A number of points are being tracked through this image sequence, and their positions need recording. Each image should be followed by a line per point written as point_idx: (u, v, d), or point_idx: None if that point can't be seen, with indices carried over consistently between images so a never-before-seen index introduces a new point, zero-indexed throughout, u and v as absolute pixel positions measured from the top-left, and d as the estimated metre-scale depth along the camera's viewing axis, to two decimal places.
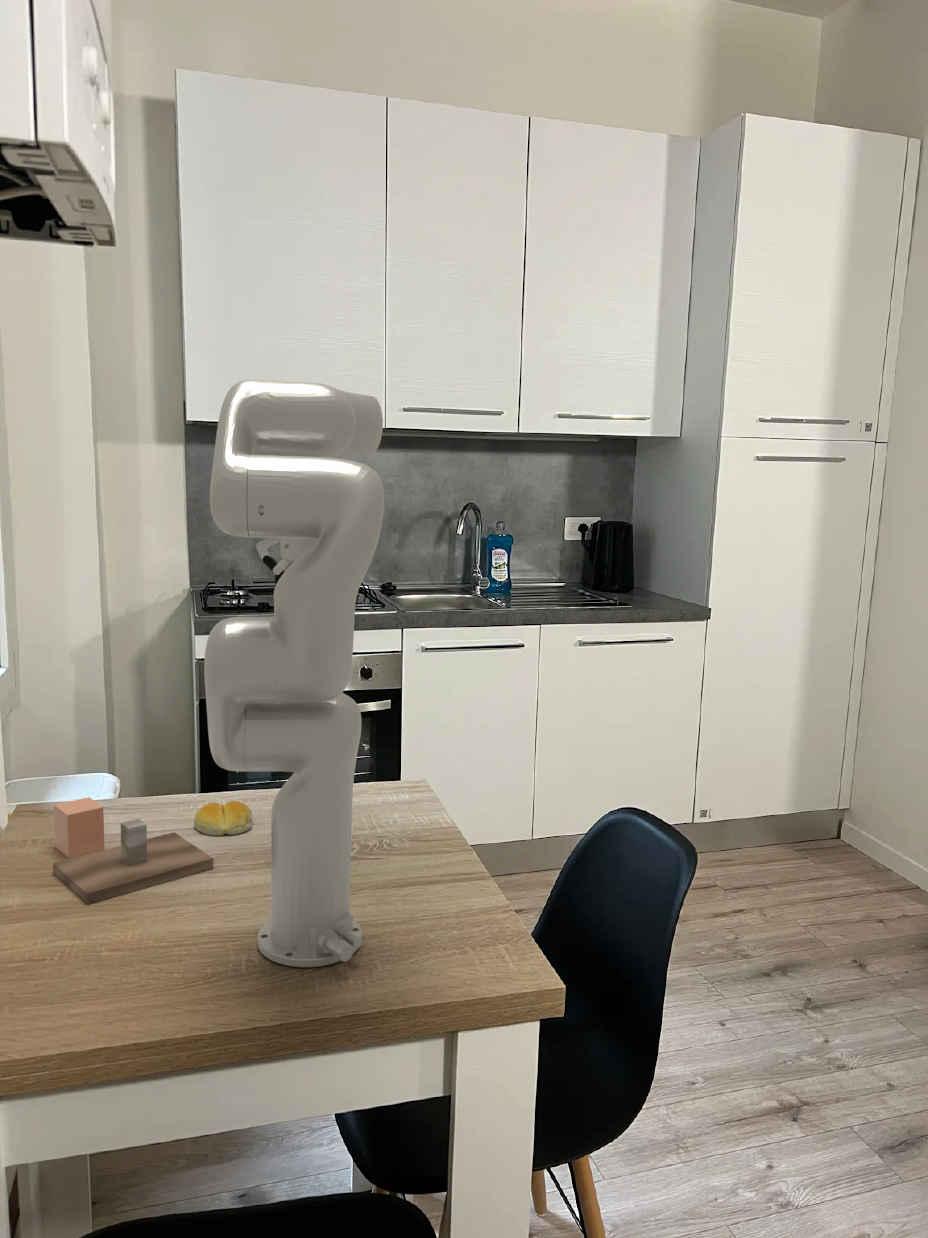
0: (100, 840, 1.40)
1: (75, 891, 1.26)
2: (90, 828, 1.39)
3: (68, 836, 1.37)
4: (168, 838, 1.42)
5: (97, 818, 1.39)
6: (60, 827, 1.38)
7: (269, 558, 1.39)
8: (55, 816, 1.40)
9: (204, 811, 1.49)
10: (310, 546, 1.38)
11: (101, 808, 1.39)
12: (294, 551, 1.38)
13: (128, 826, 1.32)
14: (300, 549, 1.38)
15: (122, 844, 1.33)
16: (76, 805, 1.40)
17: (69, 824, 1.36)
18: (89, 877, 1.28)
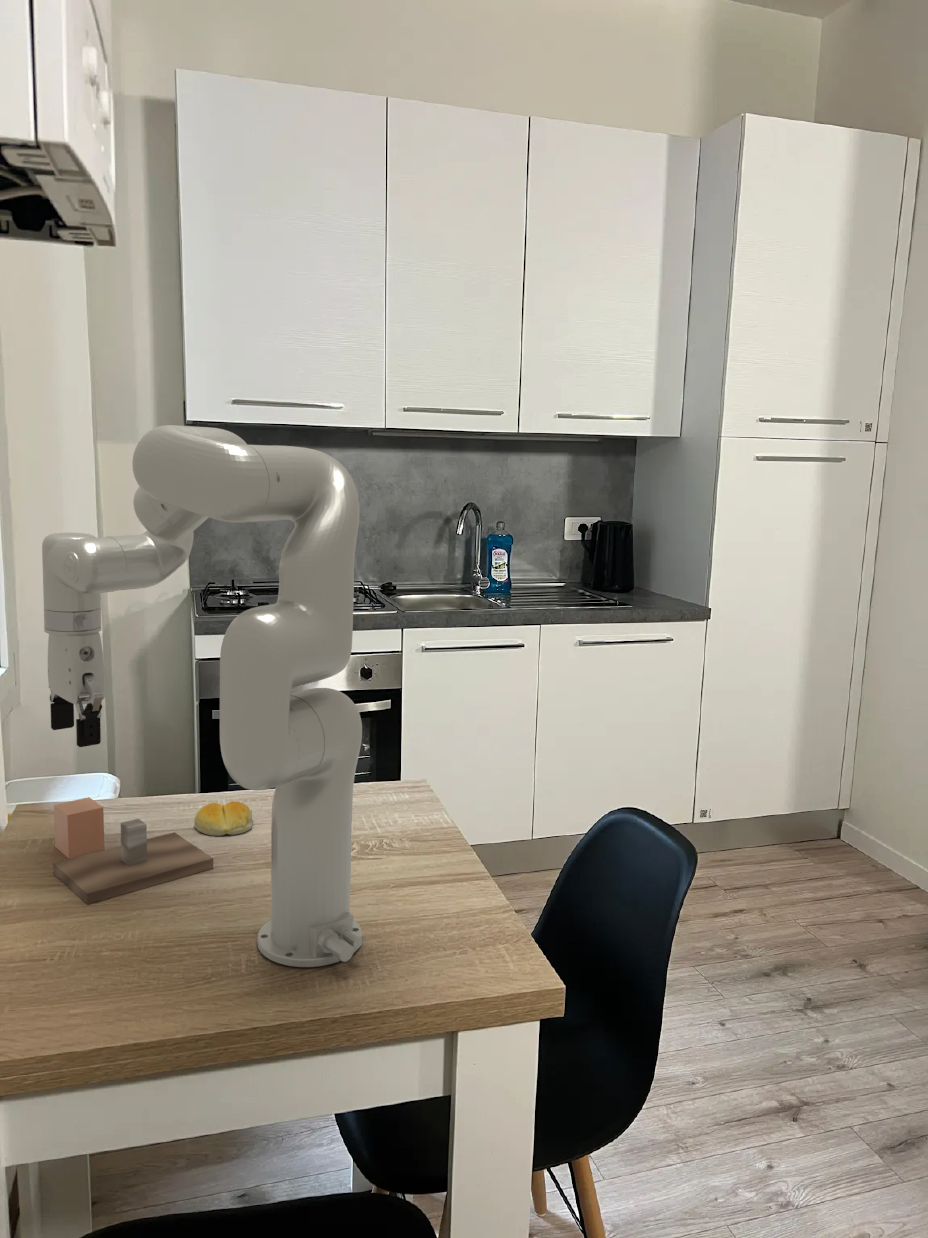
0: (100, 840, 1.40)
1: (75, 891, 1.26)
2: (90, 828, 1.39)
3: (68, 836, 1.37)
4: (168, 838, 1.42)
5: (97, 818, 1.39)
6: (60, 827, 1.38)
7: None
8: (55, 816, 1.40)
9: (205, 811, 1.49)
10: None
11: (101, 808, 1.39)
12: None
13: (128, 826, 1.32)
14: None
15: (122, 844, 1.33)
16: (76, 805, 1.40)
17: (69, 824, 1.36)
18: (89, 877, 1.28)
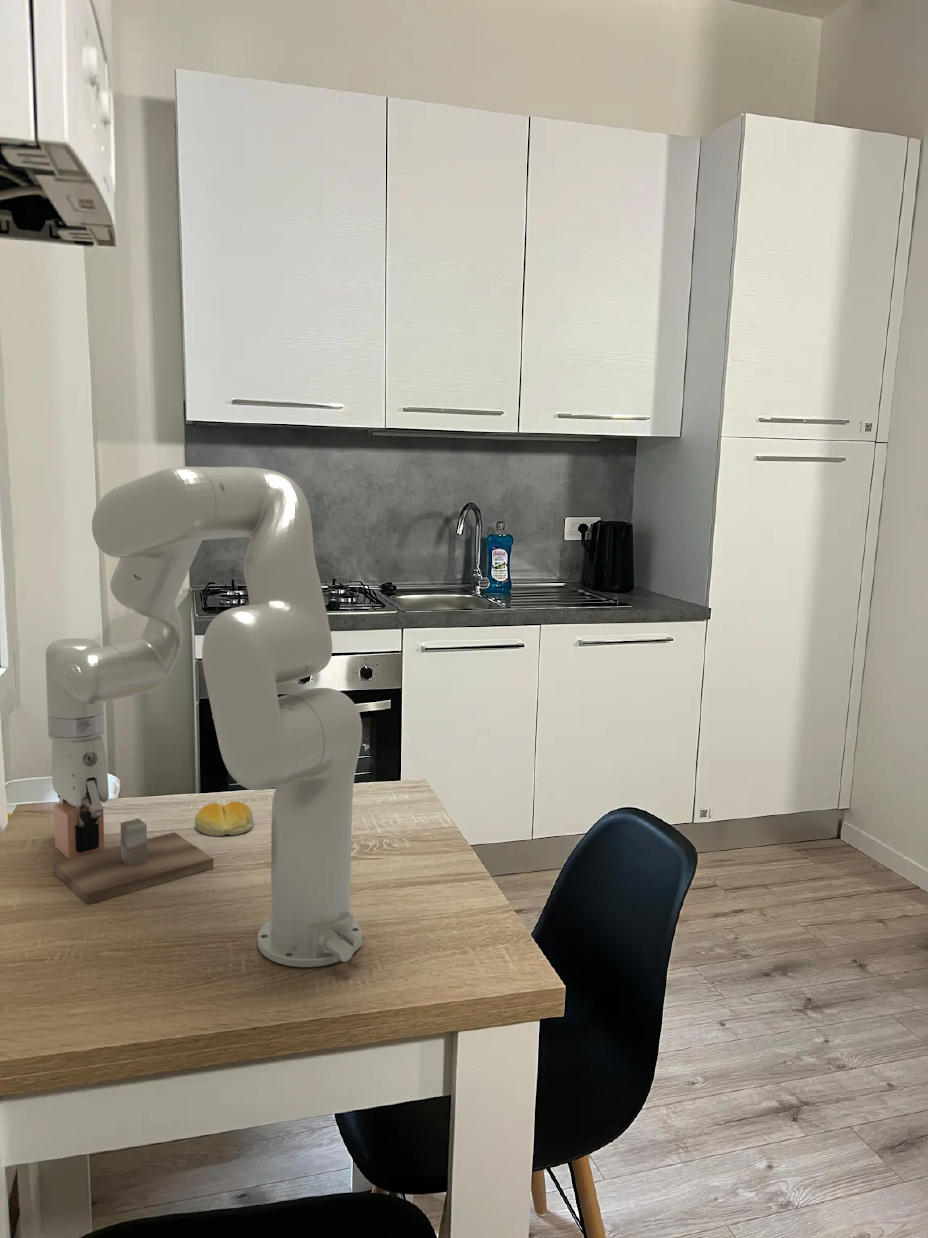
0: (100, 840, 1.40)
1: (75, 891, 1.26)
2: None
3: (68, 836, 1.37)
4: (168, 838, 1.42)
5: None
6: (60, 827, 1.38)
7: None
8: (55, 816, 1.40)
9: (205, 811, 1.49)
10: None
11: None
12: None
13: (128, 826, 1.32)
14: None
15: (122, 844, 1.33)
16: None
17: (69, 824, 1.36)
18: (89, 877, 1.28)
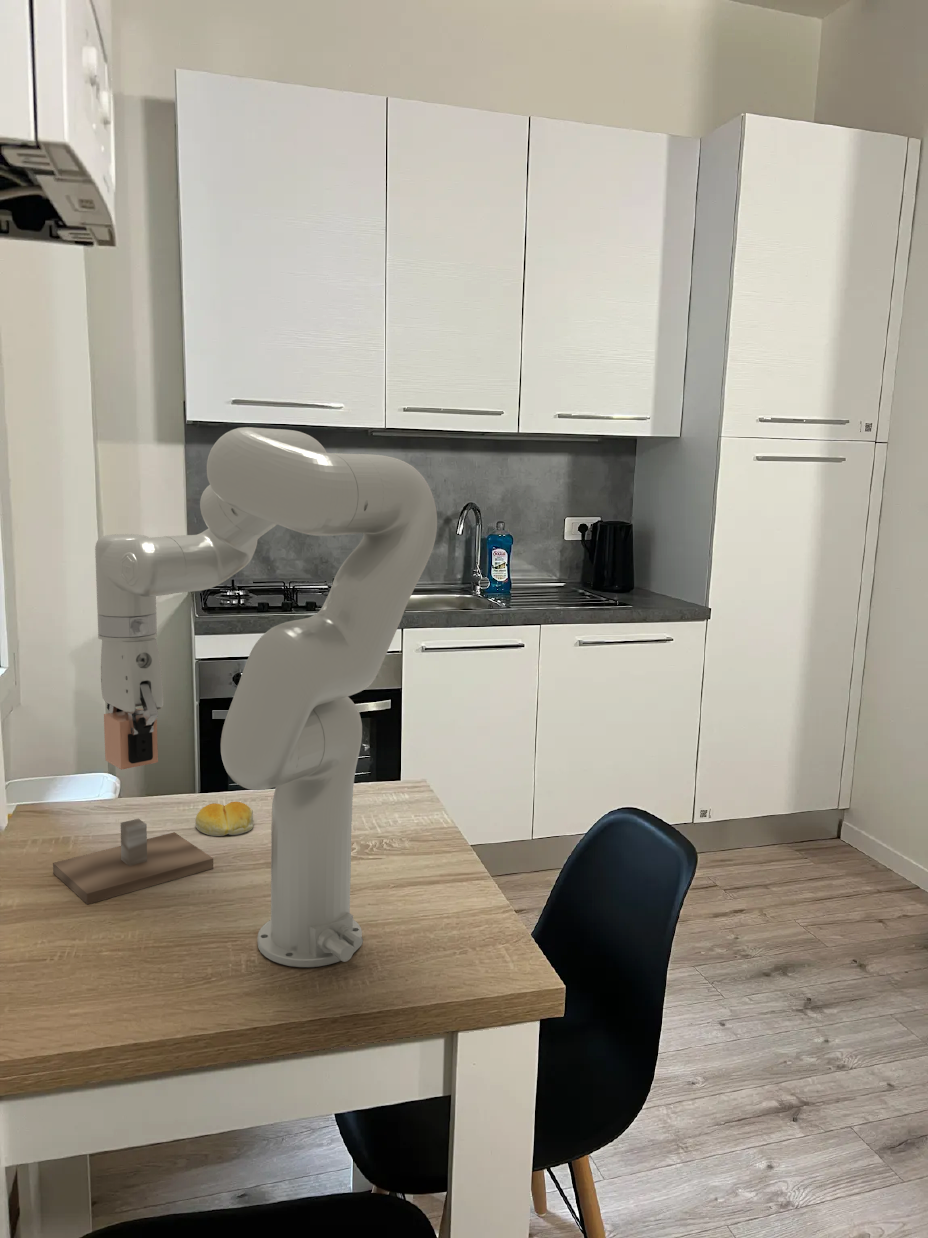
0: (153, 751, 1.31)
1: (75, 891, 1.26)
2: None
3: (120, 745, 1.27)
4: (168, 838, 1.42)
5: None
6: (111, 737, 1.29)
7: None
8: (105, 726, 1.30)
9: (206, 811, 1.49)
10: None
11: None
12: None
13: (128, 826, 1.32)
14: None
15: (122, 844, 1.33)
16: (127, 714, 1.31)
17: (121, 732, 1.27)
18: (89, 877, 1.28)
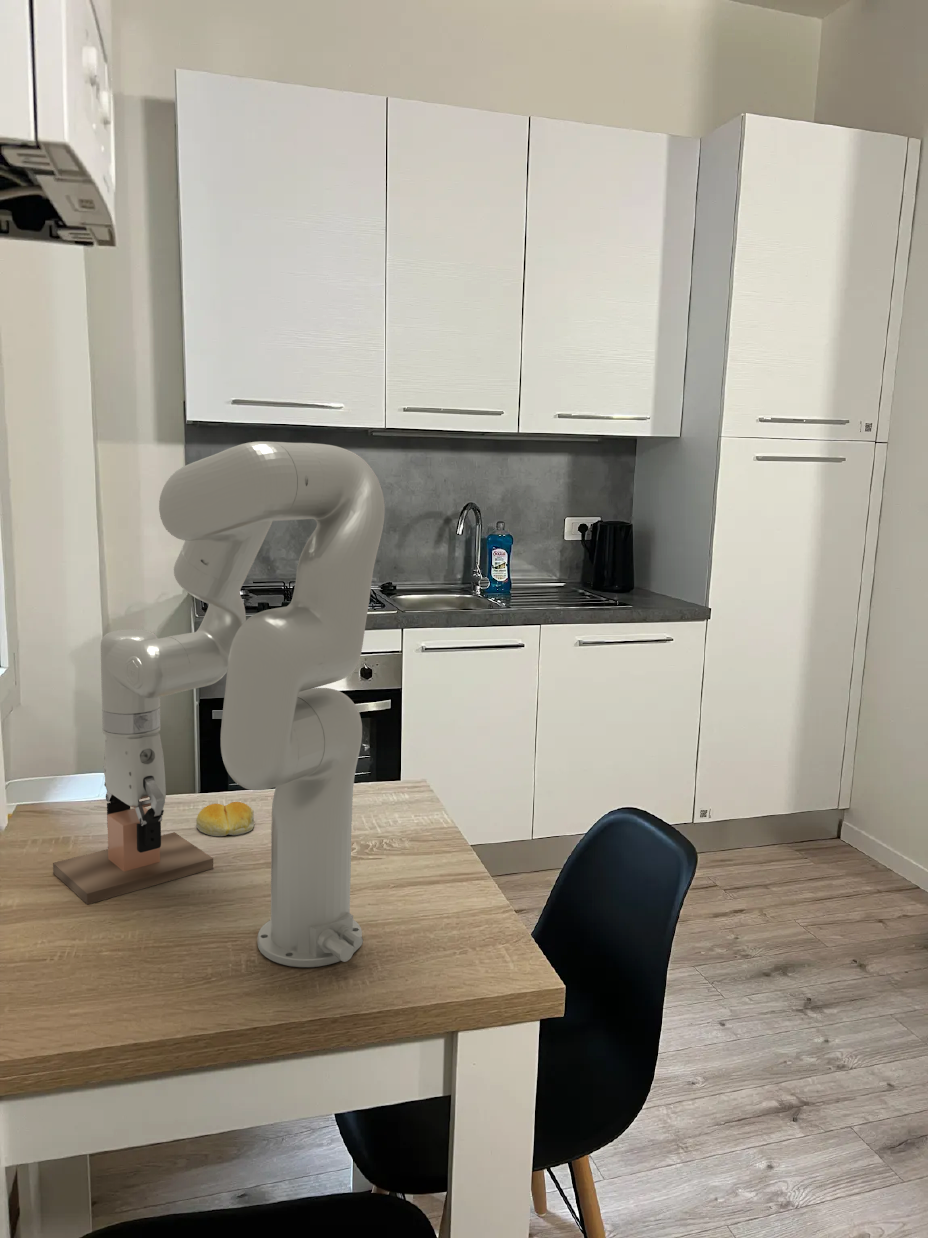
0: (156, 852, 1.33)
1: (75, 891, 1.26)
2: None
3: (123, 848, 1.30)
4: (168, 838, 1.42)
5: None
6: (114, 838, 1.32)
7: None
8: (109, 826, 1.33)
9: (207, 812, 1.49)
10: None
11: None
12: None
13: None
14: None
15: None
16: (130, 814, 1.33)
17: (125, 835, 1.30)
18: (89, 877, 1.28)
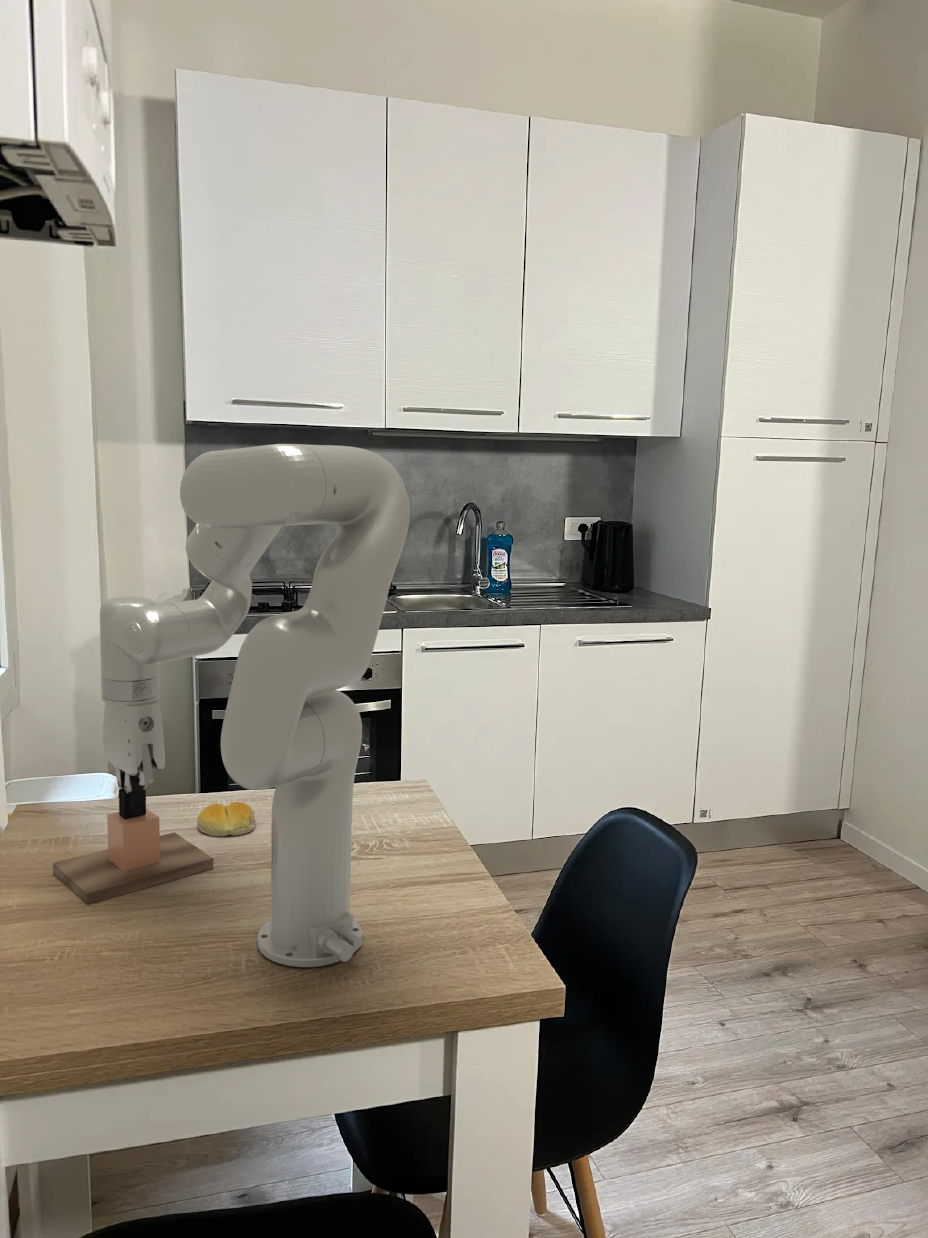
0: (156, 852, 1.33)
1: (75, 891, 1.26)
2: (146, 839, 1.32)
3: (123, 848, 1.30)
4: (168, 838, 1.42)
5: (153, 828, 1.32)
6: (114, 838, 1.32)
7: None
8: (108, 826, 1.33)
9: (208, 812, 1.49)
10: None
11: (157, 818, 1.33)
12: None
13: None
14: None
15: None
16: None
17: (125, 835, 1.30)
18: (89, 877, 1.28)
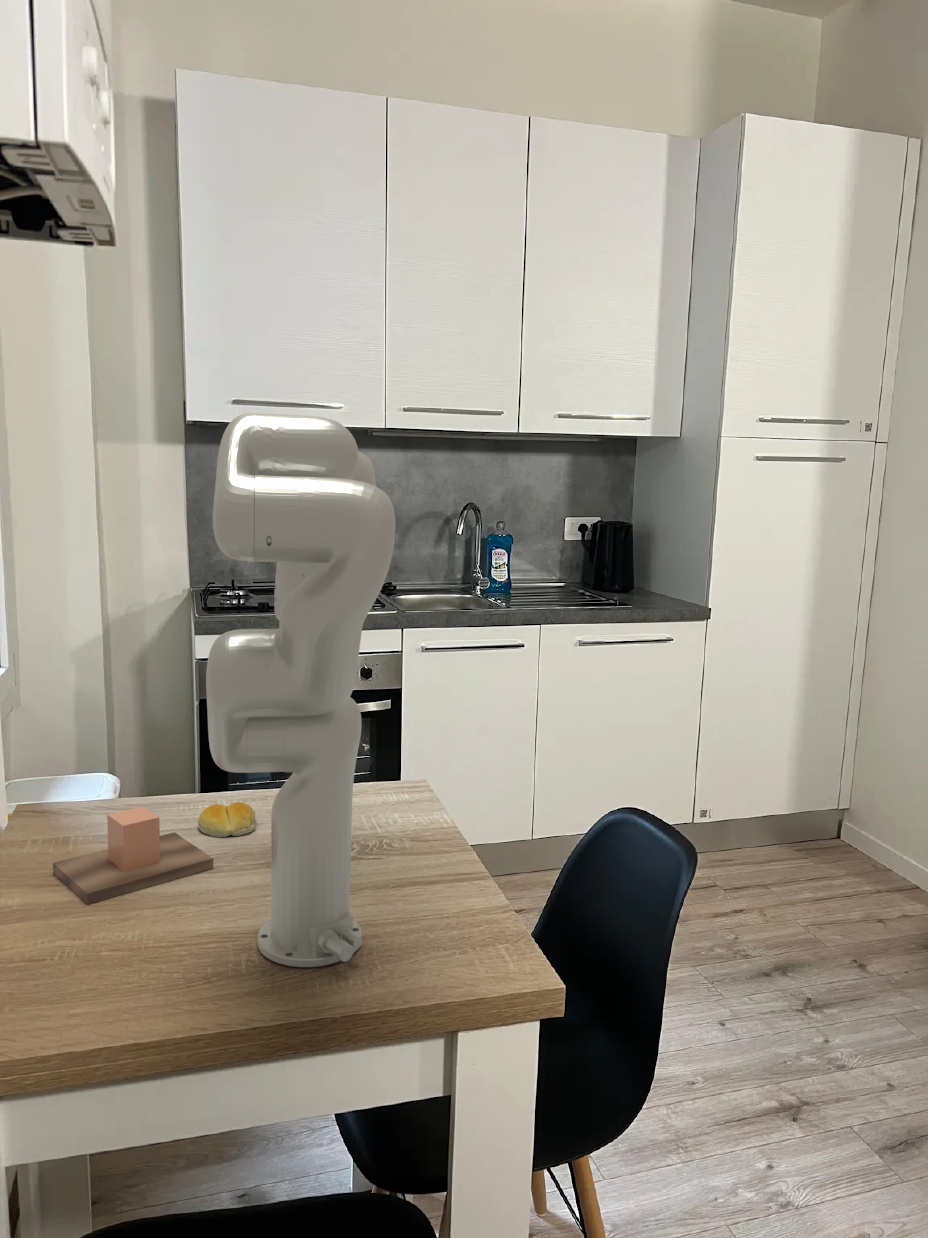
0: (156, 852, 1.33)
1: (75, 891, 1.26)
2: (146, 839, 1.32)
3: (123, 848, 1.30)
4: (168, 838, 1.42)
5: (153, 829, 1.32)
6: (114, 838, 1.32)
7: None
8: (109, 826, 1.33)
9: (209, 812, 1.48)
10: None
11: (157, 818, 1.32)
12: None
13: None
14: None
15: None
16: (130, 814, 1.33)
17: (125, 835, 1.30)
18: (89, 877, 1.28)
